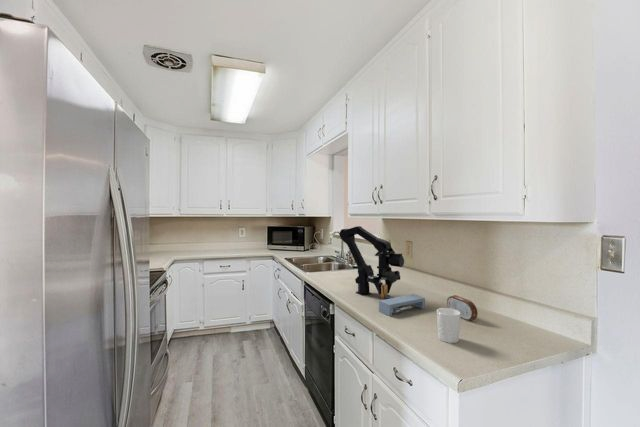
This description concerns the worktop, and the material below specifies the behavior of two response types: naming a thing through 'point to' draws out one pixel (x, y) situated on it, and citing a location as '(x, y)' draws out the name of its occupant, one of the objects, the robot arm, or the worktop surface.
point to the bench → (400, 303)
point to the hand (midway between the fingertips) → (383, 293)
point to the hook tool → (385, 292)
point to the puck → (396, 310)
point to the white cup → (448, 324)
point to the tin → (463, 307)
